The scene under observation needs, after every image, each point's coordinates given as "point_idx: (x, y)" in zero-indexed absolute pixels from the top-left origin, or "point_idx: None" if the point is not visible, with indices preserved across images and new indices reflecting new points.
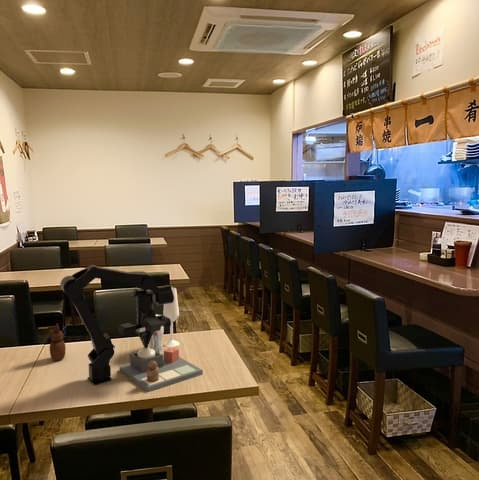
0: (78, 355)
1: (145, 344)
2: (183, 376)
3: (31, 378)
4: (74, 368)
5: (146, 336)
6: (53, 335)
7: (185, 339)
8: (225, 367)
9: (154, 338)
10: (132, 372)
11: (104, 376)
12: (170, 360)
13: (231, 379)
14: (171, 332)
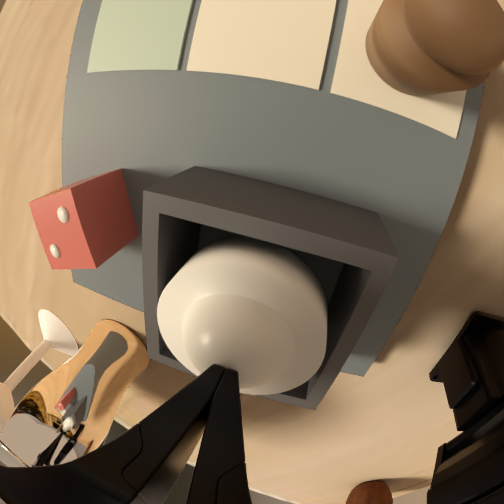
0: (325, 477)
1: (231, 407)
2: None
3: None
4: (410, 447)
5: (163, 482)
6: None
7: (23, 314)
8: (26, 8)
9: (89, 392)
10: (400, 272)
11: (501, 339)
12: (116, 186)
13: None
14: (30, 360)
